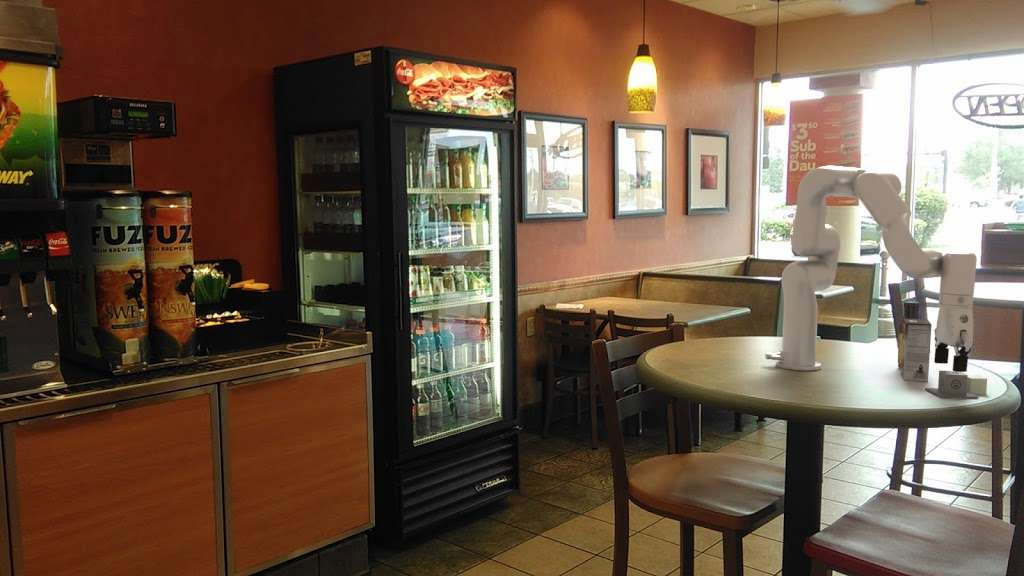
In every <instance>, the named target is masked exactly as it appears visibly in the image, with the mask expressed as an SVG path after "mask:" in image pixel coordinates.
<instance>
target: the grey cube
mask: <svg viewBox="0 0 1024 576" xmlns="http://www.w3.org/2000/svg"><path fill="white" fill-rule="evenodd" d="M968 375H969V374H966V373H965V372H955V371H953V370H938V383H937V384H938V385H937V388H938V390H939V391H941V392H943V393H944V394H957V395H966V392H967V376H968Z"/></svg>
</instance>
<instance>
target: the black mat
mask: <svg viewBox="0 0 1024 576" xmlns="http://www.w3.org/2000/svg"><path fill="white" fill-rule="evenodd" d="M924 391H925V392H928V393H930V394H931V395H934V396H936V397H939V398H941V399H969V400H970V399H971V400H972V399H974V400H975V399H976V400H979V396H977V395H976V394H971V393H969V392H966V395H957V394H944V393H943V392H941V391H939V390H938V387H937V388H936V387H935V388H933V387H924Z"/></svg>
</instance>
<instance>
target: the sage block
mask: <svg viewBox="0 0 1024 576" xmlns="http://www.w3.org/2000/svg"><path fill="white" fill-rule="evenodd" d="M967 375H968V376H967V392H969V393H971V394H973V395H976V394H977V395H980V394H983V395H986V394H987V391H988V390H987V389H988V388H987V387H988V378H986V377H983V376H981V375H975V374H974V375H973V374H972V375H969V374H967Z"/></svg>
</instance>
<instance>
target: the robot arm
mask: <svg viewBox="0 0 1024 576" xmlns="http://www.w3.org/2000/svg"><path fill="white" fill-rule="evenodd" d="M901 192H902V182H901V180H900V178H899V176H897V175H896V174H895V173H893V172H891V171H888V170H887V171H886V170H874V169H872V170H871V169H865V168H858V167H849V166H836V165H825V166H819V167H815V168H813V169H812V170H810V171H808V172H807V173H806V174H805V175H804V176H803V177H802V179H801V180H800V183H799V185H798V188H797V196H796V197H797V198H796V209H795V214H794V221H793V228H792V234H791V235H792V236H791V249H792V251H793V252H794V253H795V254H796V255H798V256H801V257H807V260H797V261H793V262H790V263H789V264H787V266H785V268H784V269H783V271H782V274H781V286H782V294H783V295H782V296H783V317H782V319H783V320H782V321H783V322H782V344H781V347H782V348H781V349H779V350H778V352H777V351H776V353H774V352H765V354H764V355H765V356H764V357H765V360H772V361H776V362H775V365H776V366H777V367H778V368H781V369H786V370H794V371H817V370H820V369H822V364H821V363H820V362H817V361H816V360H817V338H818V337H817V336H818V319H819V317H818V316H819V315H818V314H819V313H818V312H819V311H818V310H819V306H818V300H817V296H816V292H817V293H818V292H824V291H826V290H828V289H829V288H831V286H832V285H833V284H834V281H835V279H836V275H837V268H838V263H839V256H840V251H841V250H840V249H841V238H840V233H838V231H837V229H836V228H835V227H833V226H832V225H830V224H826V221H827V215H828V207H827V206H828V205H827V202H826V198H828V197H836V198H837V197H840V198H841V197H843V198H845V197H846V198H852V199H853V198H854V199H859V200H860V201H861V203H862V205H863V206H864V207H865V209H866V210H867V211H868V213H869V214H870V216H871V217H872V218H873V220H874V221H875V222H876V224H877V225H878V227H879V228H880V231H881V236H882V240H883V244H884V247H885V249H886V251H887V254H889V256H890V258H891V259H892V261H893V262H894V263H895V265H896V266H897V267H898V268H899V270H900V271H901V272H902V273H903V274H904V275H905V276H907V277H909V278H912V279H916V280H917V279H918V280H919V279H920V280H921V279H933V278H940V281H939V282H940V283H939V295H938V306H939V307H938V308H939V310H938V314H937V321H936V328H934V341H935V343H934V349H935V351H934V361H933V362H934V363H935V364H942V365H943V364H945V365H946V364H948V363H949V352H950V348H948V347H953V350H954V354H953V360H952V361H953V362H952V371H955V372H962V373H966V372H968V362H969V356H970V352H971V350H972V346H973V341H974V313H973V306H974V305H973V304H974V292H975V282H976V273H977V272H976V271H977V262H978V261H977V256H976V253H973V252H971V251H970V252H969V251H960V250H959V251H956V250H955V251H951V250H950V251H948V250H943V249H940V248H939V249H938V248H921V246H920V245H919V244H918V242H917V241H916V239H914V237H913V236H912V233H911V232H910V228H909V221H910V218H911V217H912V216H911V215H912V211H911V209H910V208H909V206H908V205H907V204H906V202H905V200H903V199H902V197H901V196H900V194H901Z"/></svg>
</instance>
